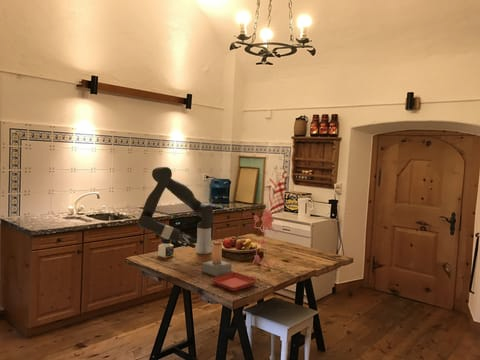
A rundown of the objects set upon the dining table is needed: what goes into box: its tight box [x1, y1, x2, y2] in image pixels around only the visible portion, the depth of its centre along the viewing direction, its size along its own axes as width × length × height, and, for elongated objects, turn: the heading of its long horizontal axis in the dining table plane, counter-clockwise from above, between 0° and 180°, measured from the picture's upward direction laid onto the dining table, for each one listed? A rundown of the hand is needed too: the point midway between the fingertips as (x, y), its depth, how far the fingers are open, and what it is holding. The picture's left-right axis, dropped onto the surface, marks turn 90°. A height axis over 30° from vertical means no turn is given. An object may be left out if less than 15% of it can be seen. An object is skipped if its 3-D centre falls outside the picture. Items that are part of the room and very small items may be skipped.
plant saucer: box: [210, 271, 258, 292], centre depth 214 cm, size 18×18×3 cm
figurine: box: [252, 208, 278, 269], centre depth 249 cm, size 15×26×35 cm, turn 28°
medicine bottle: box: [157, 237, 175, 259], centre depth 262 cm, size 7×7×12 cm
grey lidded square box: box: [201, 260, 232, 277], centre depth 234 cm, size 12×12×5 cm
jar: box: [211, 241, 223, 264], centre depth 233 cm, size 5×5×12 cm
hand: (195, 244), depth 239 cm, fingers open, 8 cm apart
